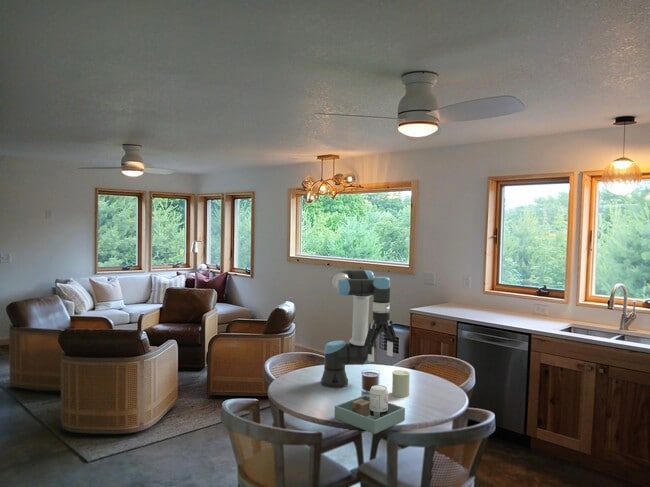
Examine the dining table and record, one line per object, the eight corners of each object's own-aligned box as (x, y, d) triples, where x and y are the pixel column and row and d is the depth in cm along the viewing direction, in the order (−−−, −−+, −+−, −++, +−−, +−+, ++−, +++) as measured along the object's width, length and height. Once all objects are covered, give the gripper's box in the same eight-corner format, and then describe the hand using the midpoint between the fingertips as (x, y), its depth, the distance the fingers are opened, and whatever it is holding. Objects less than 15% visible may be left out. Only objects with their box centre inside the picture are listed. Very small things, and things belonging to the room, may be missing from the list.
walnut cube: (352, 414, 222) (352, 401, 222) (360, 411, 226) (360, 398, 226) (362, 418, 218) (362, 405, 218) (370, 414, 222) (370, 402, 222)
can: (409, 397, 247) (409, 374, 247) (391, 396, 249) (391, 373, 249) (409, 392, 256) (410, 369, 256) (392, 390, 258) (392, 368, 258)
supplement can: (367, 417, 219) (368, 384, 219) (385, 417, 220) (386, 384, 219) (370, 424, 211) (371, 390, 211) (389, 424, 212) (389, 390, 211)
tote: (334, 418, 219) (334, 406, 219) (364, 406, 235) (365, 394, 234) (374, 434, 203) (375, 421, 203) (404, 420, 218) (404, 407, 218)
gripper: (370, 315, 203) (369, 365, 204) (404, 309, 221) (403, 355, 221) (356, 313, 208) (355, 361, 209) (391, 307, 226) (390, 352, 227)
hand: (380, 358), depth 215 cm, fingers open, 13 cm apart
